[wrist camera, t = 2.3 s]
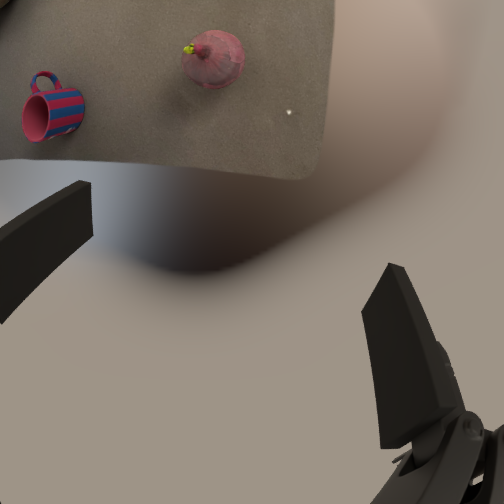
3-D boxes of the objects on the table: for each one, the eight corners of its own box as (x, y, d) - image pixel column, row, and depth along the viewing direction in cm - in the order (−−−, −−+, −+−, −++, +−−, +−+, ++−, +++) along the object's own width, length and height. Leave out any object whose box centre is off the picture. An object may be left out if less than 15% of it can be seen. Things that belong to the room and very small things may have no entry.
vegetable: (217, 29, 23) (184, 4, 15) (263, 56, 24) (247, 36, 16) (186, 71, 26) (142, 64, 17) (230, 99, 27) (200, 98, 19)
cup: (57, 136, 32) (25, 148, 26) (51, 76, 27) (18, 80, 21) (87, 126, 30) (53, 136, 25) (81, 60, 26) (46, 61, 20)
